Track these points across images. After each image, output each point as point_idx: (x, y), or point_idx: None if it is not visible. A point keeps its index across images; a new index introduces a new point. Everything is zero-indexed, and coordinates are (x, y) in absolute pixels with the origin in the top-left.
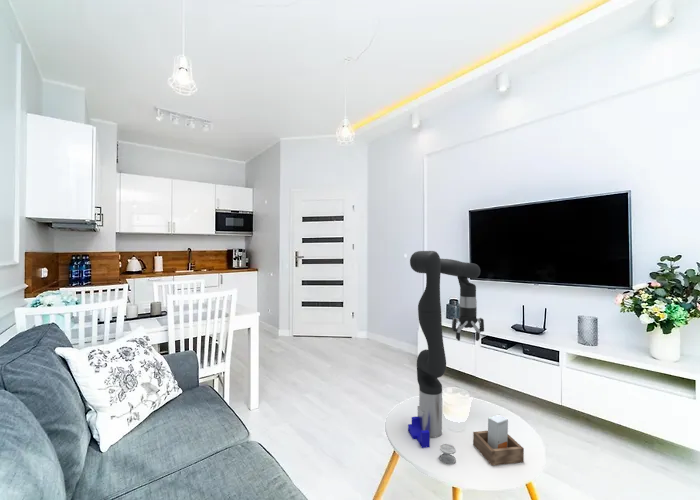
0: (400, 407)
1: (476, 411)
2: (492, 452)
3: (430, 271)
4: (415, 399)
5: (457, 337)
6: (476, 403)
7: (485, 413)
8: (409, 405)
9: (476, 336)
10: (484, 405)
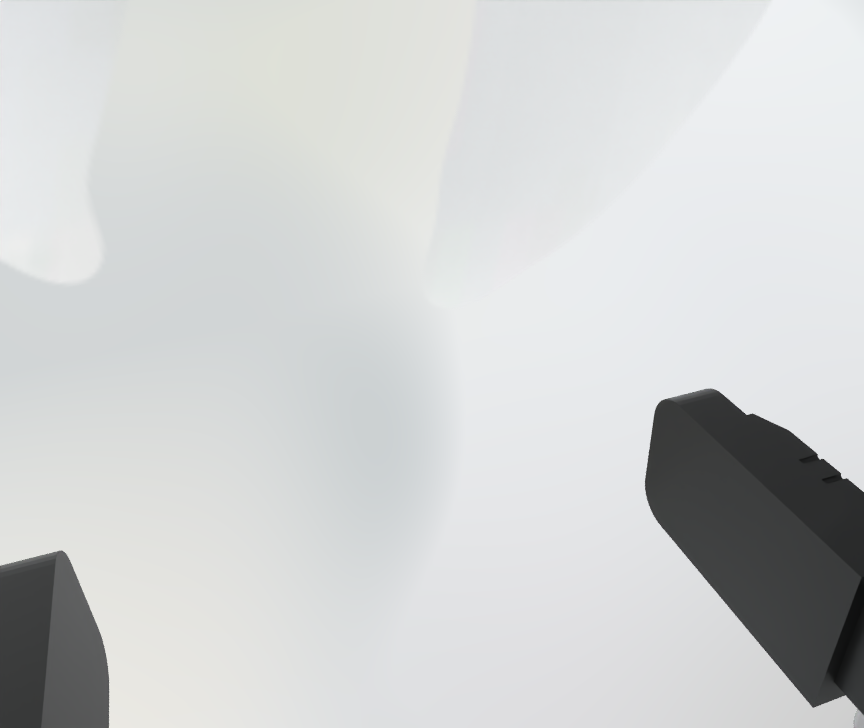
0: (739, 39)
1: (102, 52)
2: None
3: None
4: (598, 200)
5: (789, 453)
6: (86, 225)
7: (6, 18)
8: (667, 86)
9: (70, 718)
10: (5, 198)
